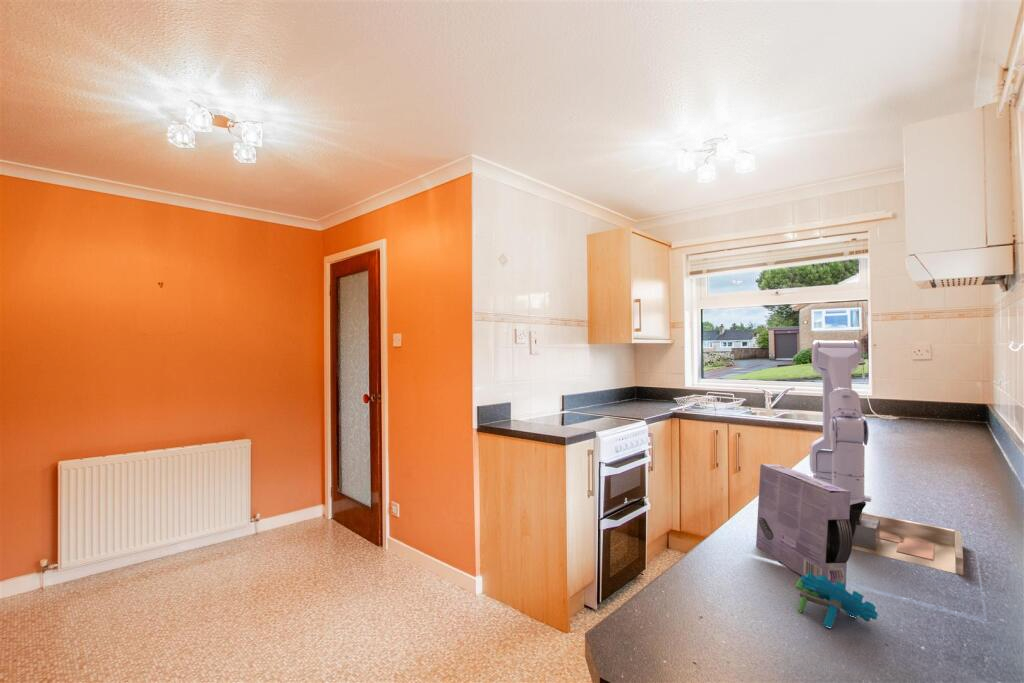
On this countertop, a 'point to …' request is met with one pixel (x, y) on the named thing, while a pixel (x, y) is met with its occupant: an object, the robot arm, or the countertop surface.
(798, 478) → the cake pan box
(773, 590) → the countertop surface
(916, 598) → the countertop surface
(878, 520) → the bracket
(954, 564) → the board
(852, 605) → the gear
